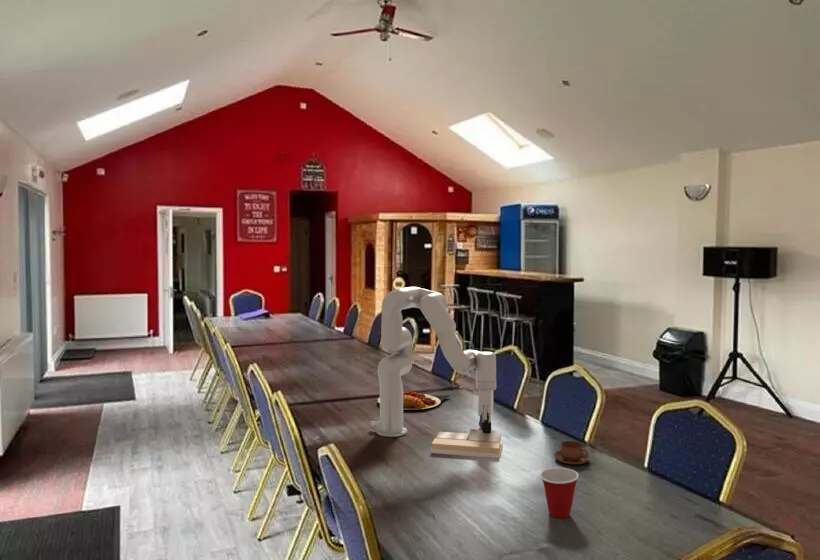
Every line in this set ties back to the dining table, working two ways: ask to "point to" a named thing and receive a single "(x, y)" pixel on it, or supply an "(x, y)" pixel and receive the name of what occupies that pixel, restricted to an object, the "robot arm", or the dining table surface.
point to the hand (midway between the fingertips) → (486, 432)
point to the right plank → (484, 436)
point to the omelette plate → (420, 400)
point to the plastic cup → (559, 490)
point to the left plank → (453, 435)
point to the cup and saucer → (571, 453)
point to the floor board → (466, 448)
